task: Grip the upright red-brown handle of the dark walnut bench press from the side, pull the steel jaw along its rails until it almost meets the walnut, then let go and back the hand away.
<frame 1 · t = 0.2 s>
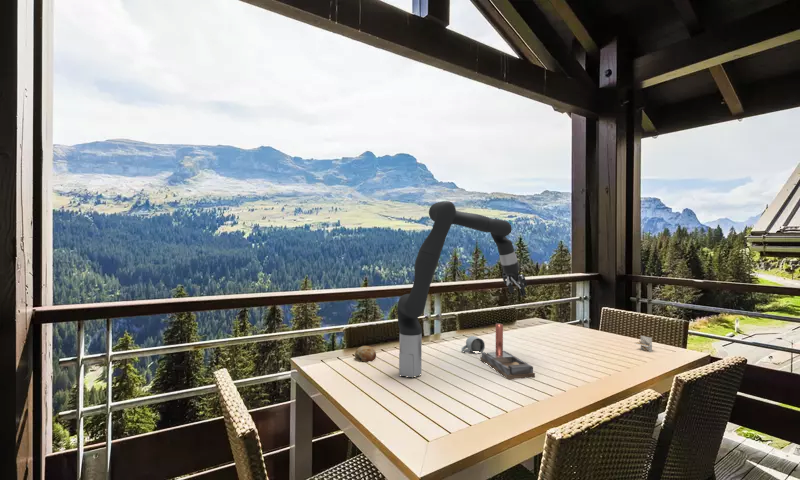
hand: (517, 293, 185), 31 cm above the table, tool tilted 20°, fingers open, 8 cm apart
bread roll: (365, 359, 185), on the table
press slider: (499, 342, 177), point 10 cm above the table, slide at 0.0 cm
architectural model: (645, 351, 199), on the table
press base: (505, 368, 171), on the table
ceramic mug: (472, 352, 196), on the table
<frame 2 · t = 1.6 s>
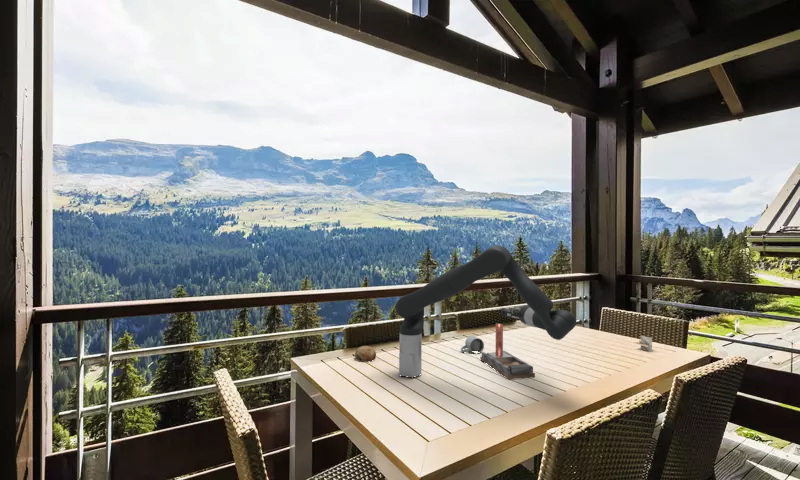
hand: (511, 309, 167), 26 cm above the table, tool horizontal, fingers open, 8 cm apart
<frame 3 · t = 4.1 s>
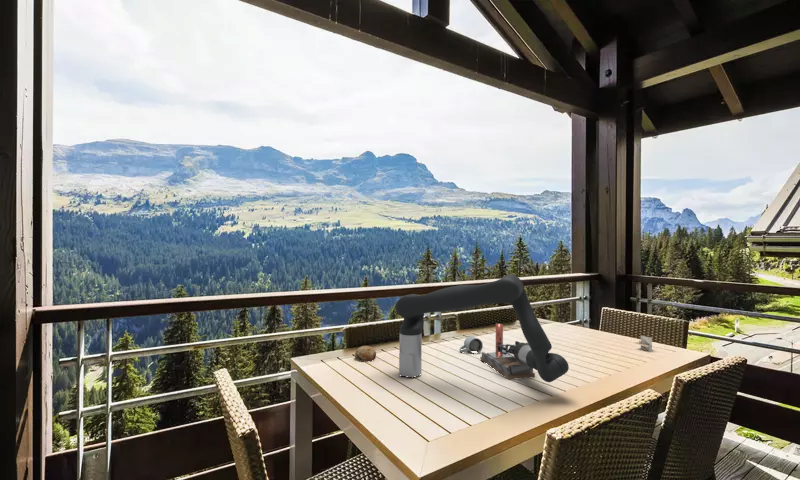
hand: (507, 343, 170), 11 cm above the table, tool horizontal, fingers open, 8 cm apart
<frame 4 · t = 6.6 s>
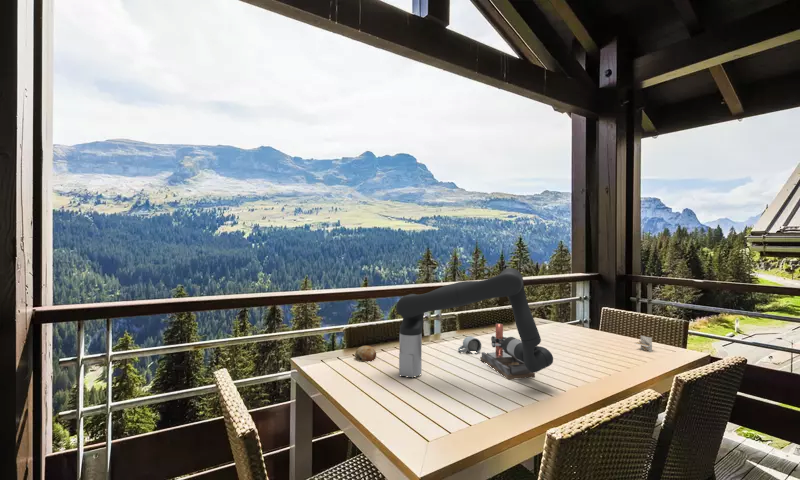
hand: (496, 338, 180), 11 cm above the table, tool horizontal, fingers closed on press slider, 3 cm apart
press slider: (499, 342, 177), point 10 cm above the table, slide at 0.0 cm, touching gripper
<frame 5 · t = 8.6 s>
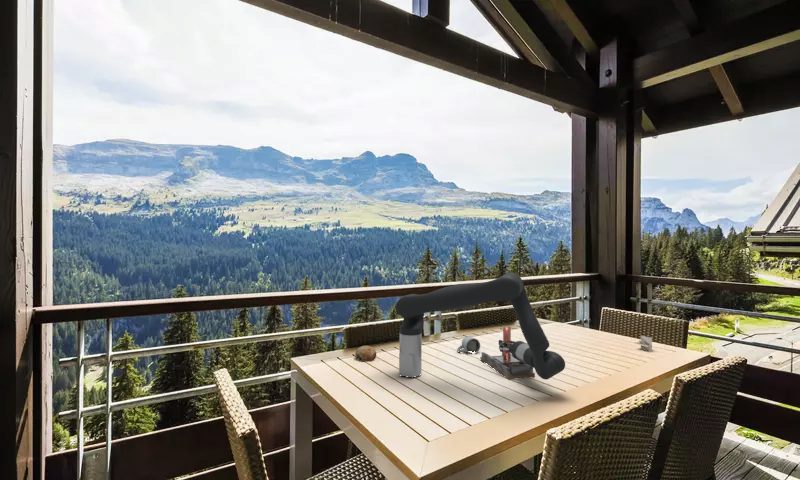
hand: (503, 341, 173), 11 cm above the table, tool horizontal, fingers closed on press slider, 3 cm apart
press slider: (506, 346, 170), point 10 cm above the table, slide at 6.9 cm, touching gripper
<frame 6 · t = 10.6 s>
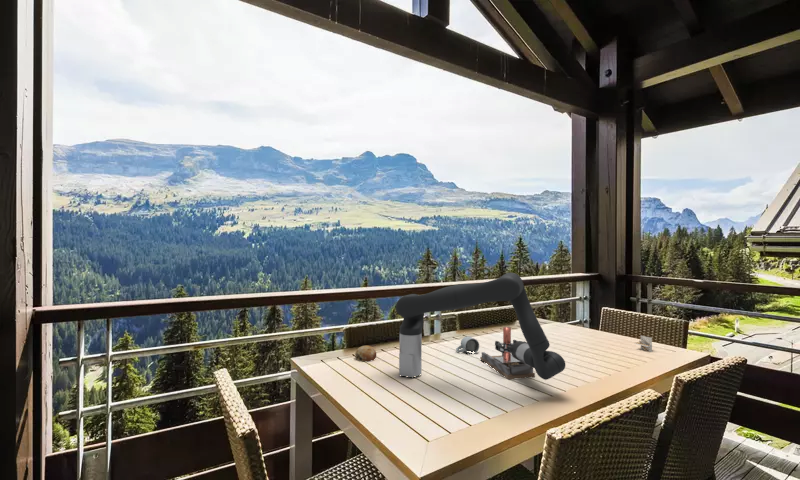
hand: (504, 342, 172), 11 cm above the table, tool horizontal, fingers open, 8 cm apart
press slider: (507, 346, 170), point 10 cm above the table, slide at 7.0 cm
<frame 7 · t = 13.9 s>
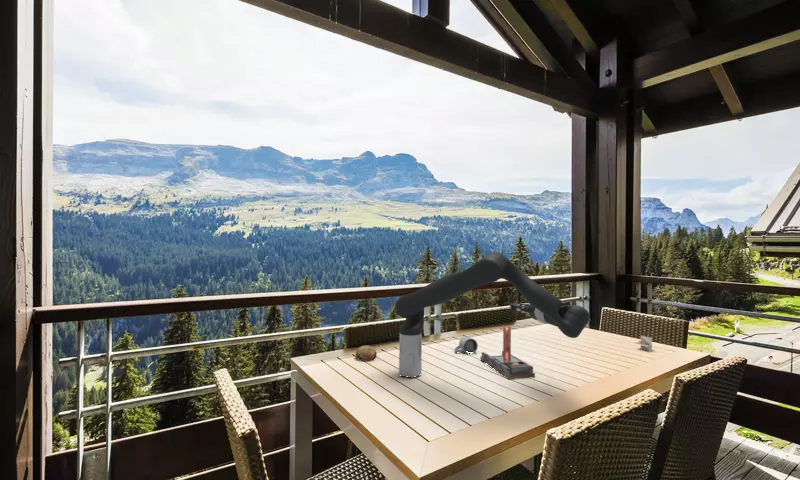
hand: (520, 304, 160), 30 cm above the table, tool horizontal, fingers open, 8 cm apart
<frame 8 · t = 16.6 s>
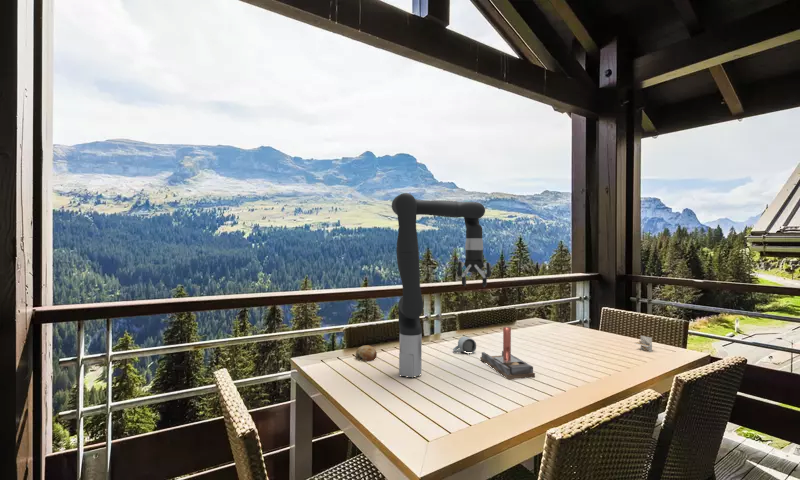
hand: (474, 286, 169), 36 cm above the table, tool pointing down, fingers open, 8 cm apart
at the end: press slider slide at 7.0 cm; the gripper is holding nothing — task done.
